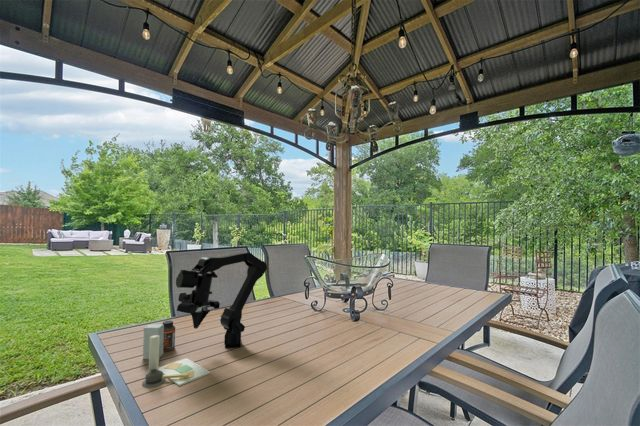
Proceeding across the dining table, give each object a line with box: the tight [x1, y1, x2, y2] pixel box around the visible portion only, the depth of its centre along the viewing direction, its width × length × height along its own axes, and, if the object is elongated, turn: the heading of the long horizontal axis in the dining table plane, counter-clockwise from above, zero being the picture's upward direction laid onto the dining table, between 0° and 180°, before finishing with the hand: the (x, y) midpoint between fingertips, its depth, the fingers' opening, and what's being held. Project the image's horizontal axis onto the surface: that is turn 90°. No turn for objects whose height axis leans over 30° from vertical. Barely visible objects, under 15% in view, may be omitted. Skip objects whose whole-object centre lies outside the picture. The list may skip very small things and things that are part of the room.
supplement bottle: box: [162, 319, 176, 352], centre depth 125 cm, size 6×6×11 cm
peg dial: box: [144, 335, 190, 384], centre depth 101 cm, size 11×15×12 cm
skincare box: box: [142, 323, 164, 360], centre depth 117 cm, size 6×4×12 cm
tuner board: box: [141, 357, 211, 388], centre depth 103 cm, size 18×17×1 cm
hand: (195, 328), depth 118 cm, fingers closed
